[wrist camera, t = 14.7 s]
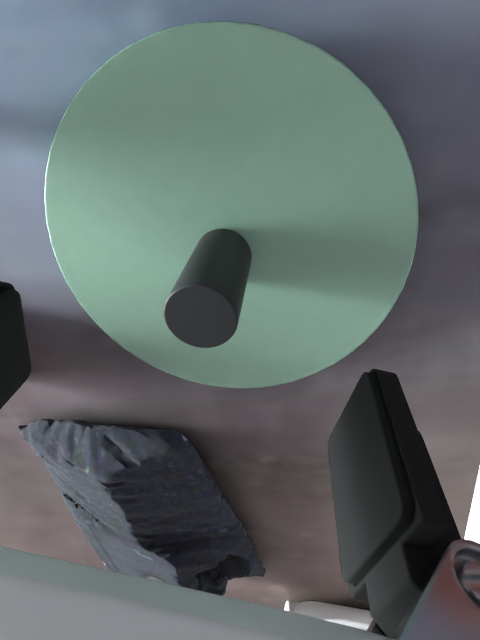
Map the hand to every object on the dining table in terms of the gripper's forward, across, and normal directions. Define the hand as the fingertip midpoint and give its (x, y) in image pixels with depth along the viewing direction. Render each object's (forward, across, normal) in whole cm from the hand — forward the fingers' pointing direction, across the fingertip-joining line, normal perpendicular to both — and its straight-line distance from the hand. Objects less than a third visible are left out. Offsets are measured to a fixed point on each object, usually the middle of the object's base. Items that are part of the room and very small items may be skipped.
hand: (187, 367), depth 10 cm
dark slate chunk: (+8, +2, +22) cm, 24 cm away
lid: (+7, 0, 0) cm, 8 cm away
